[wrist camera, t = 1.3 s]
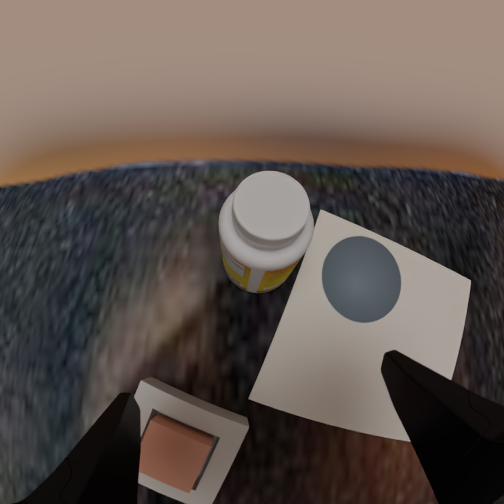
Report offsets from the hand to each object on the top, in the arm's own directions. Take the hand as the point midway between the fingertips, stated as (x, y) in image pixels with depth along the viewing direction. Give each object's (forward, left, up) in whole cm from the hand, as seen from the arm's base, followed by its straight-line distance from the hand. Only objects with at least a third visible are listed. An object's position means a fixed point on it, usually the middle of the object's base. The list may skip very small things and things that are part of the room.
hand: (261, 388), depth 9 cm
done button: (+2, +8, -11) cm, 14 cm away
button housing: (+2, +8, -13) cm, 16 cm away
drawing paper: (-10, -6, -13) cm, 18 cm away
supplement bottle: (+2, -8, -14) cm, 16 cm away
